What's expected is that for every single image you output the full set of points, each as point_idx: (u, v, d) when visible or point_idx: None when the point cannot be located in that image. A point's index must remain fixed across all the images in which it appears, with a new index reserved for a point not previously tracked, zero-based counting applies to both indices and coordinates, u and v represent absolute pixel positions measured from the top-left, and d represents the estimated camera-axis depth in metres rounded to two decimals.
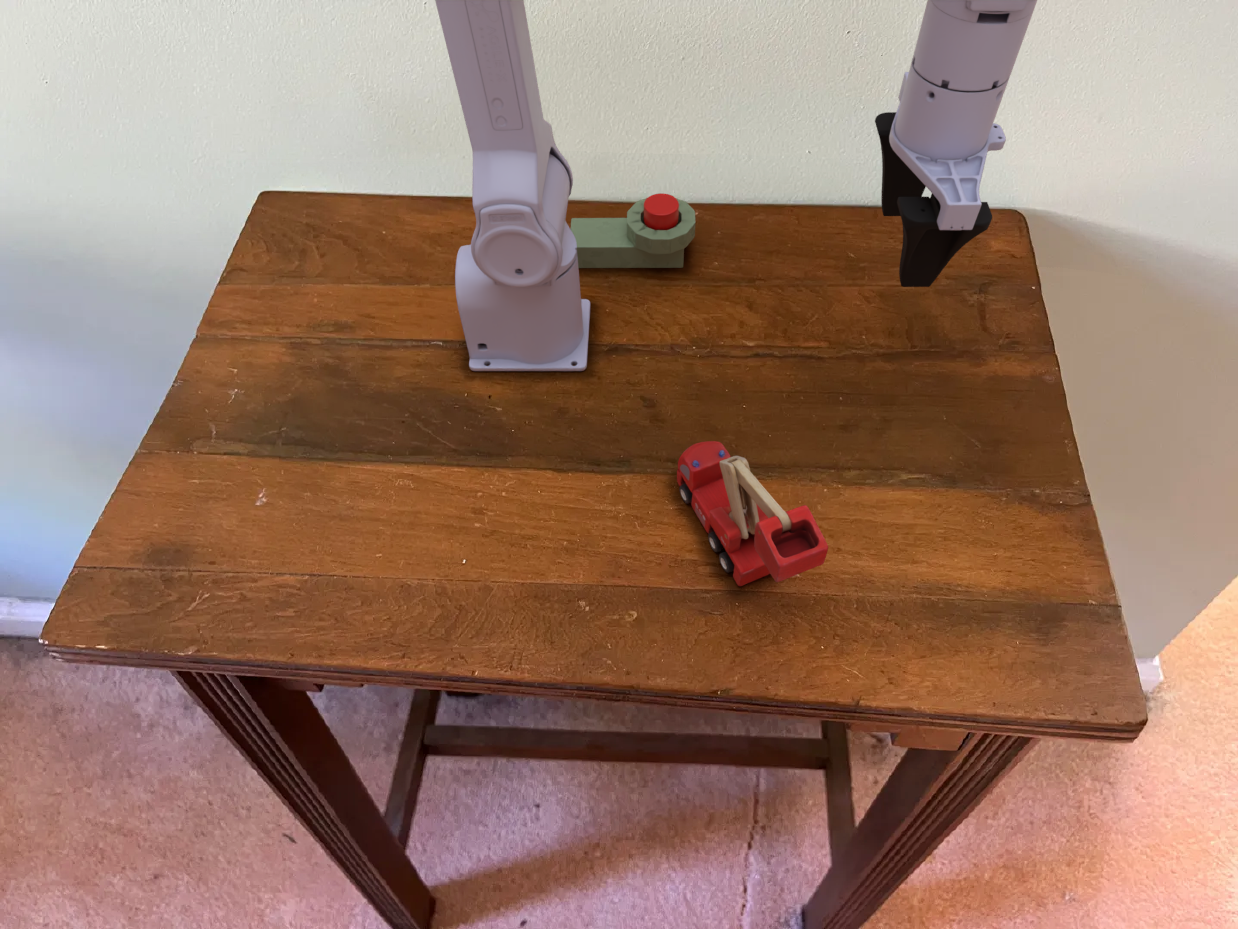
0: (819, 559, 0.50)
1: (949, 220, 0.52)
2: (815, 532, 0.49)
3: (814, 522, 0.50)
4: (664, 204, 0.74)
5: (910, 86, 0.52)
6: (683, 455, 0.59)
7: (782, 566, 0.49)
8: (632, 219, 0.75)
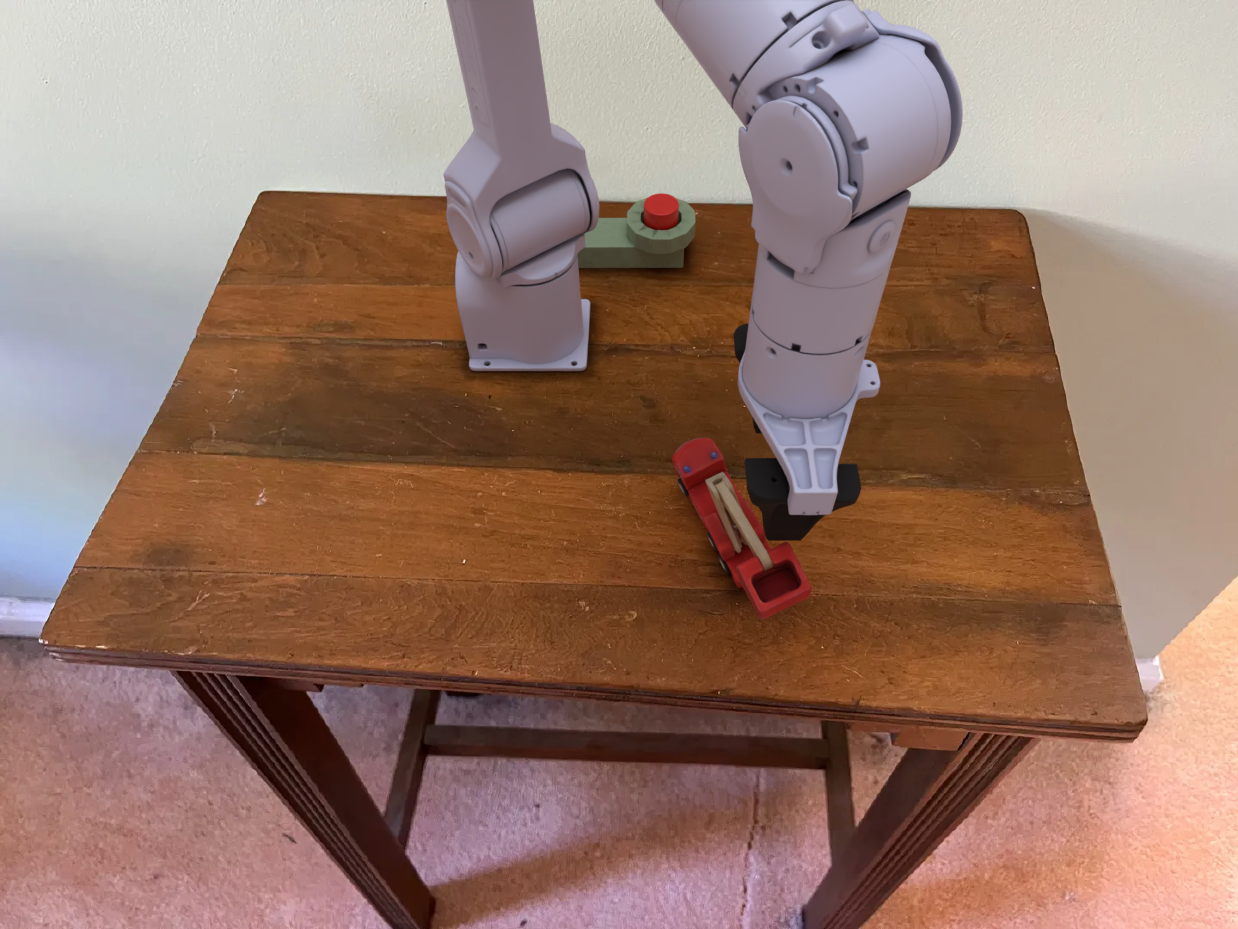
0: (803, 596, 0.49)
1: (799, 506, 0.40)
2: (797, 573, 0.48)
3: (796, 562, 0.48)
4: (664, 204, 0.74)
5: (751, 332, 0.41)
6: (674, 458, 0.57)
7: (763, 612, 0.48)
8: (632, 219, 0.75)
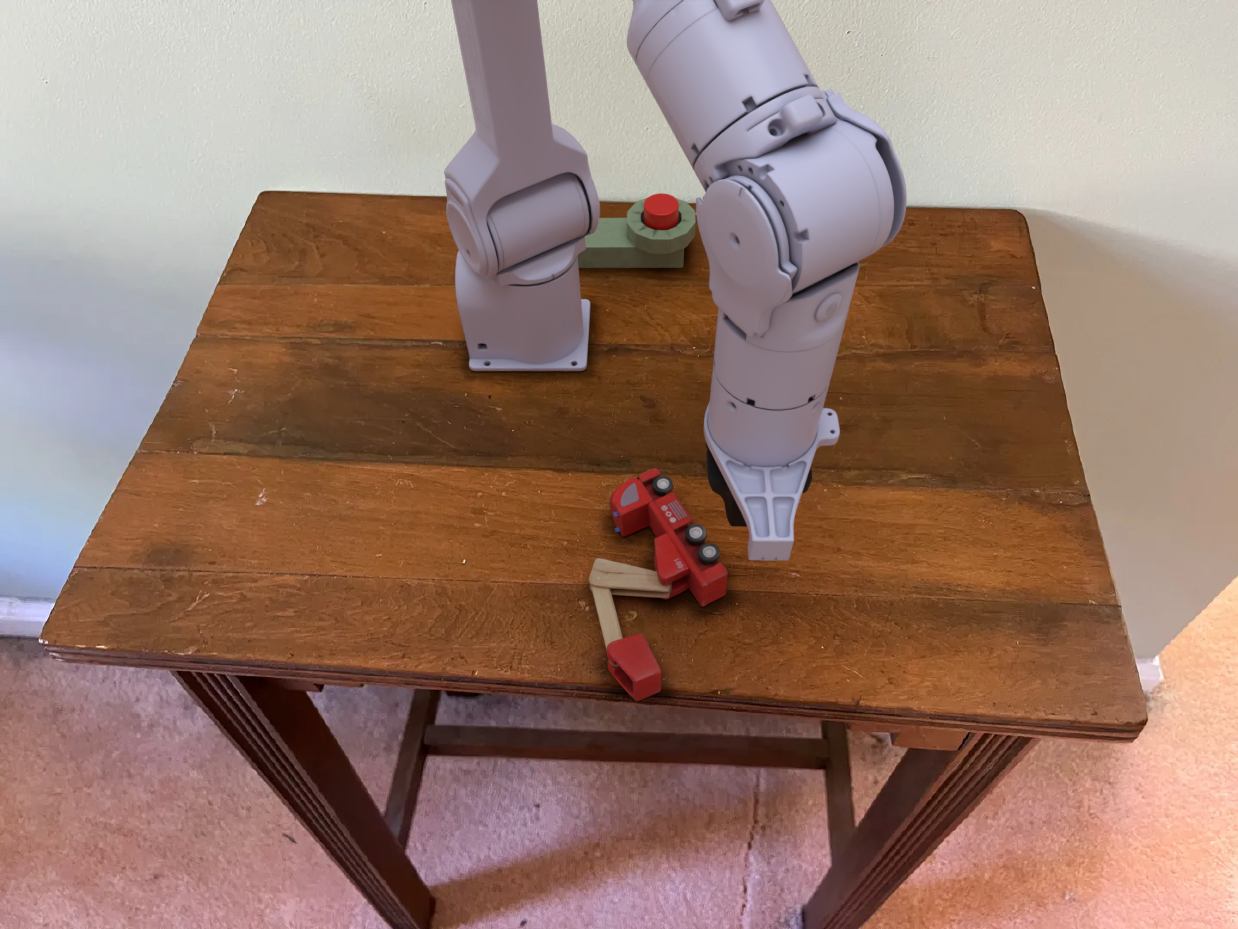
0: (650, 679, 0.51)
1: (758, 553, 0.42)
2: (624, 671, 0.51)
3: (617, 663, 0.52)
4: (664, 204, 0.74)
5: (714, 384, 0.43)
6: None
7: (638, 700, 0.53)
8: (632, 219, 0.75)
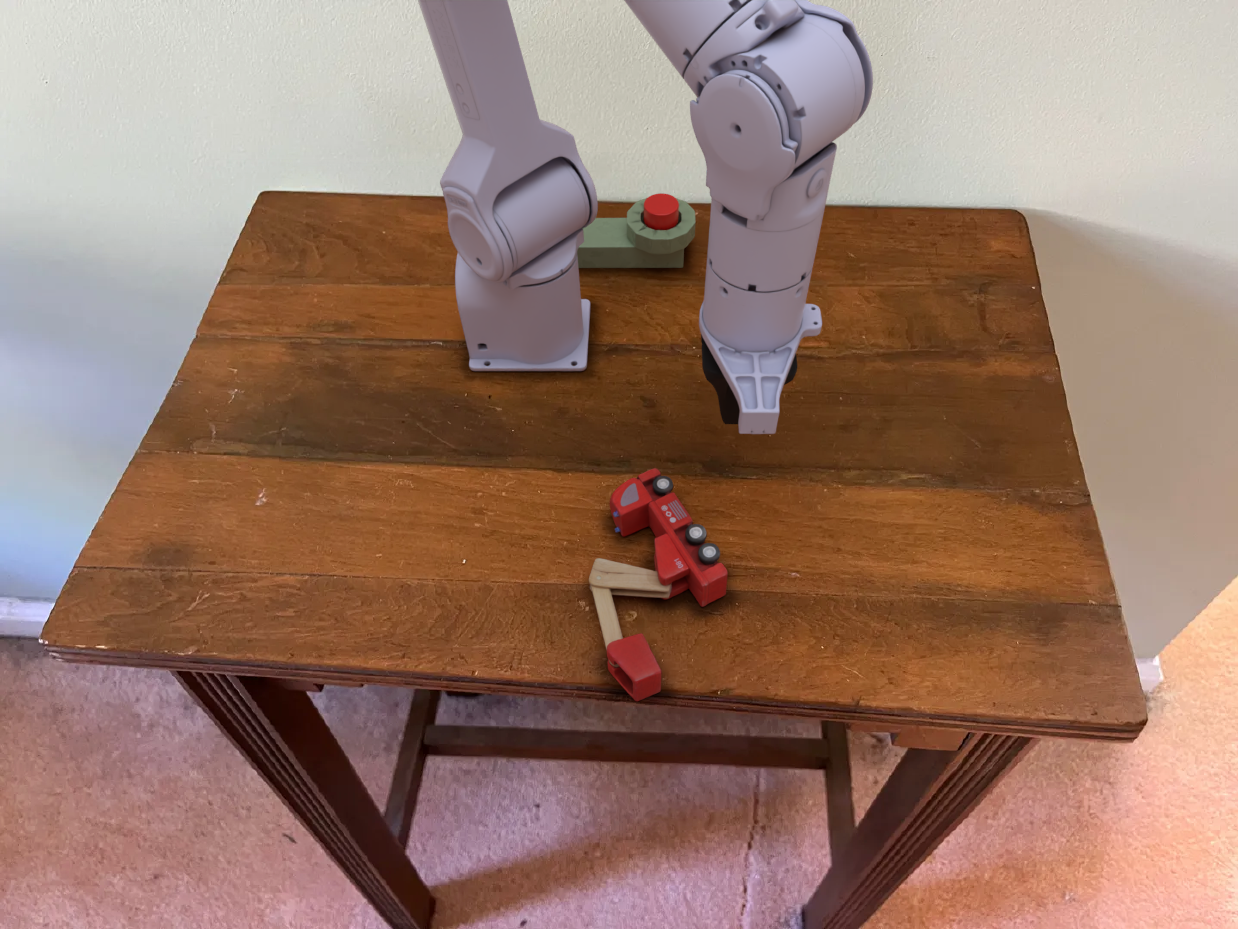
0: (650, 679, 0.51)
1: (747, 425, 0.47)
2: (624, 671, 0.51)
3: (617, 663, 0.52)
4: (664, 204, 0.74)
5: (708, 275, 0.47)
6: None
7: (638, 700, 0.53)
8: (632, 219, 0.75)
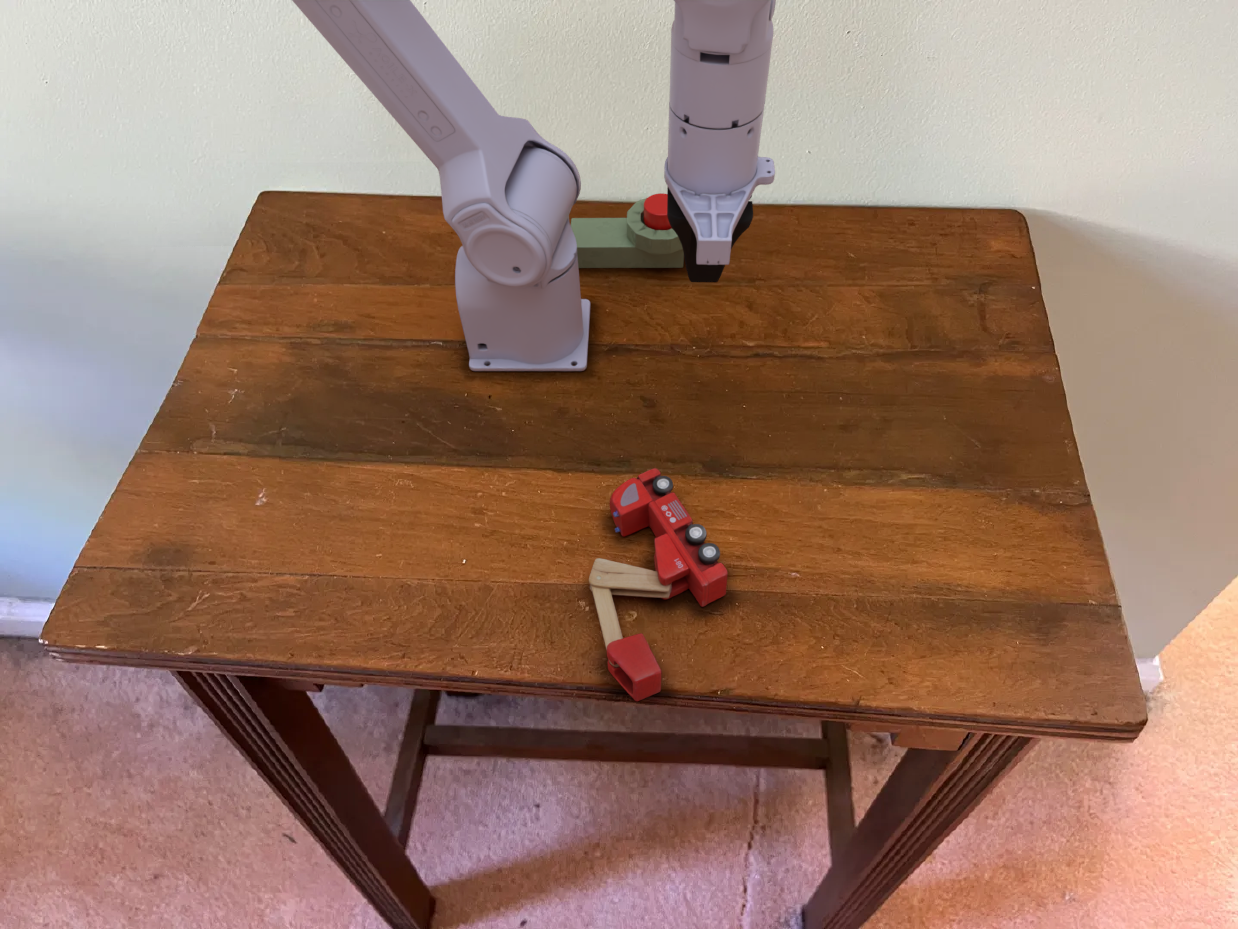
0: (650, 679, 0.51)
1: (703, 255, 0.52)
2: (624, 671, 0.51)
3: (617, 663, 0.52)
4: (664, 204, 0.74)
5: (670, 121, 0.53)
6: None
7: (638, 700, 0.53)
8: (632, 219, 0.75)
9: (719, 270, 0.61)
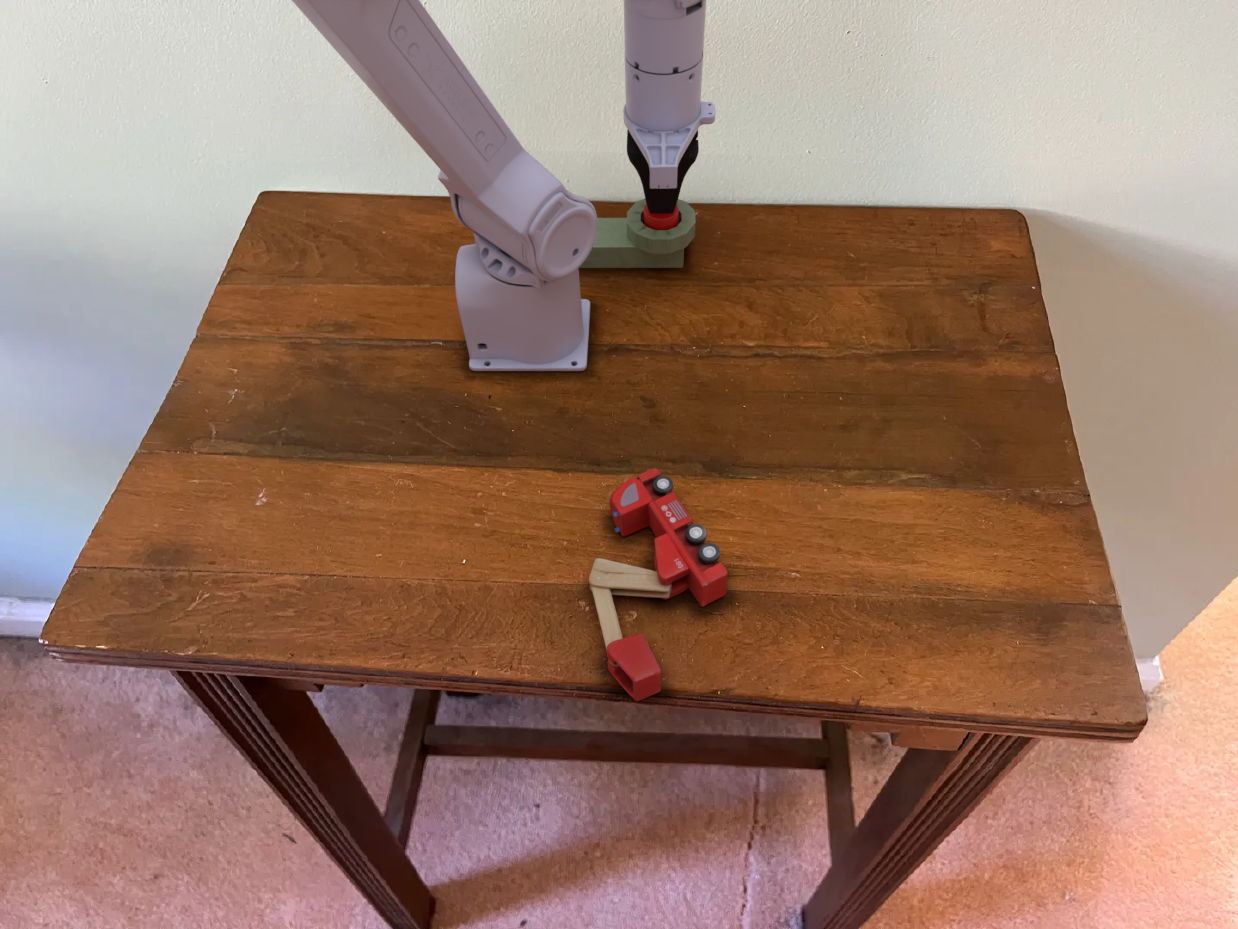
0: (650, 679, 0.51)
1: (655, 180, 0.63)
2: (624, 671, 0.51)
3: (617, 663, 0.52)
4: None
5: (626, 70, 0.64)
6: None
7: (638, 700, 0.53)
8: (632, 219, 0.75)
9: (673, 202, 0.72)
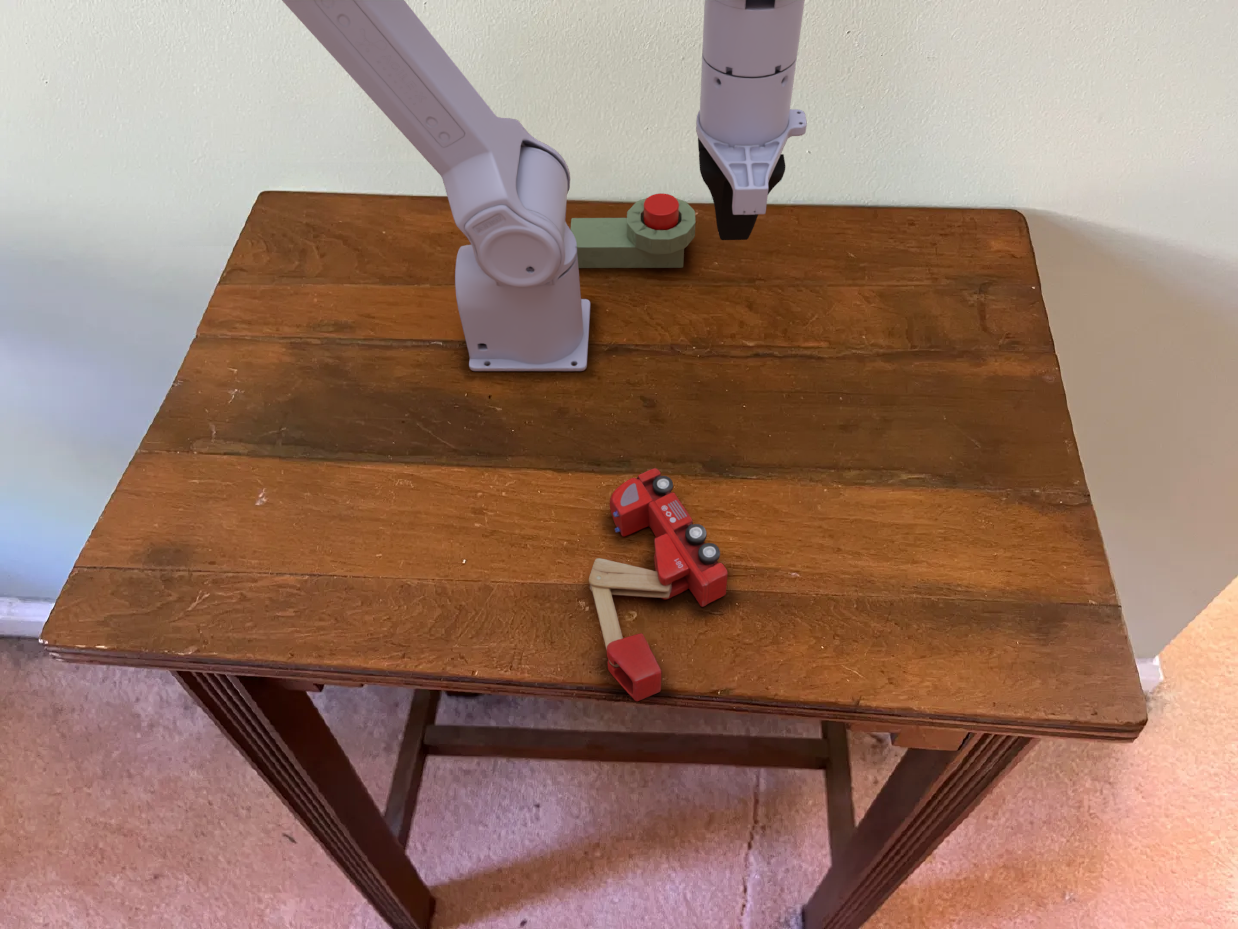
0: (650, 679, 0.51)
1: (740, 205, 0.53)
2: (624, 671, 0.51)
3: (617, 663, 0.52)
4: (664, 204, 0.74)
5: (703, 73, 0.53)
6: None
7: (638, 700, 0.53)
8: (632, 219, 0.75)
9: (750, 226, 0.62)
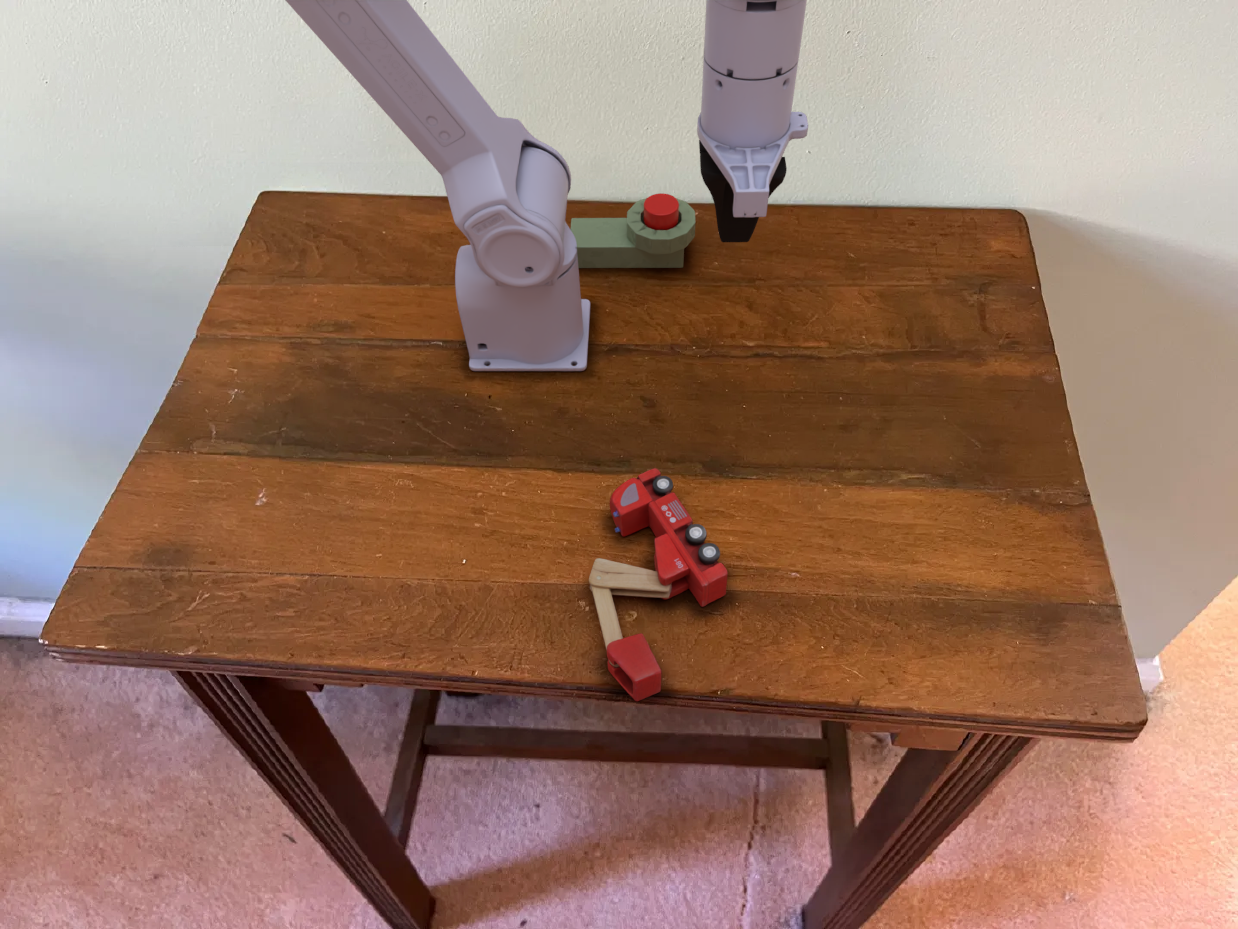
0: (650, 679, 0.51)
1: (741, 207, 0.52)
2: (624, 671, 0.51)
3: (617, 663, 0.52)
4: (664, 204, 0.74)
5: (704, 75, 0.53)
6: None
7: (638, 700, 0.53)
8: (632, 219, 0.75)
9: (751, 229, 0.62)
